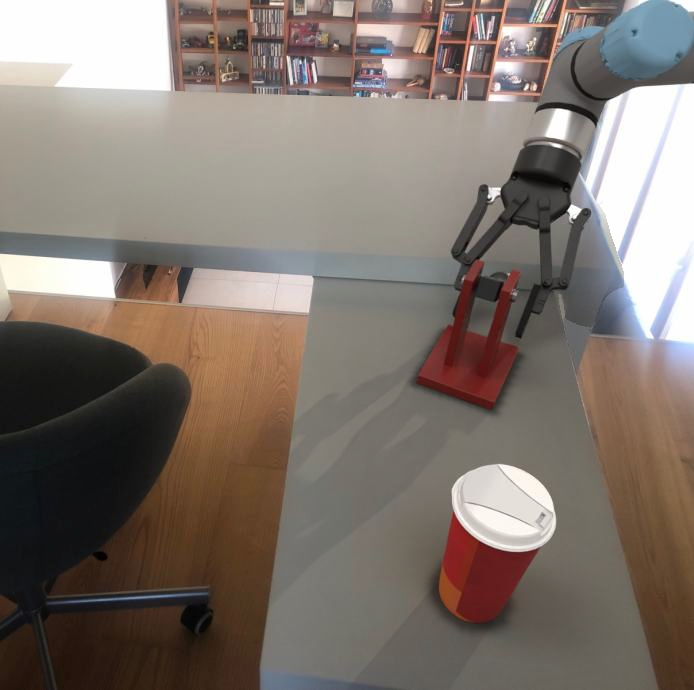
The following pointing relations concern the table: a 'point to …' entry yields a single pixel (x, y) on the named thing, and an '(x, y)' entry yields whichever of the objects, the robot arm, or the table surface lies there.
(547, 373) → the table surface
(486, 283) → the lever
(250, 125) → the table surface
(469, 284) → the bracket
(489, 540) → the paper cup
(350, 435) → the table surface
